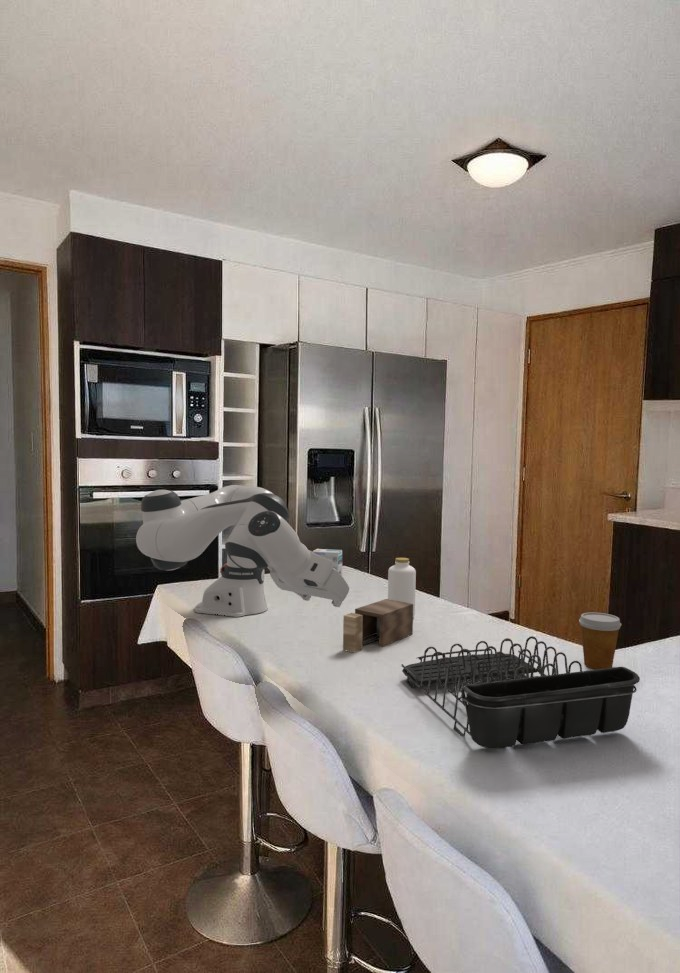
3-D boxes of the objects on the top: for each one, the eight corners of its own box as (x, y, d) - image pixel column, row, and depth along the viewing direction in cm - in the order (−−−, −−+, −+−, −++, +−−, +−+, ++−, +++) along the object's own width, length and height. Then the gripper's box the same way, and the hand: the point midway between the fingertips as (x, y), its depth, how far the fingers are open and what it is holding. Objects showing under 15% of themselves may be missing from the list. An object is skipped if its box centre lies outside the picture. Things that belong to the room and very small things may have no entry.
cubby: (382, 646, 174) (383, 614, 173) (354, 640, 179) (355, 608, 179) (412, 634, 186) (413, 603, 185) (385, 628, 191) (386, 598, 191)
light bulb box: (342, 576, 263) (343, 549, 262) (338, 580, 256) (338, 552, 256) (316, 575, 265) (316, 548, 265) (311, 578, 259) (312, 550, 258)
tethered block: (356, 653, 168) (356, 618, 168) (340, 649, 171) (341, 614, 171) (401, 634, 185) (402, 602, 184) (386, 631, 188) (387, 599, 188)
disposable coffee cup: (618, 662, 164) (620, 614, 164) (620, 674, 155) (622, 624, 155) (577, 657, 168) (578, 610, 167) (577, 669, 159) (579, 620, 158)
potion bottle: (414, 614, 207) (415, 556, 206) (415, 621, 199) (416, 561, 198) (387, 613, 208) (388, 555, 207) (387, 620, 200) (388, 560, 198)
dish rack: (477, 766, 111) (479, 695, 110) (386, 675, 154) (387, 624, 153) (647, 743, 120) (650, 678, 120) (517, 664, 163) (519, 615, 162)
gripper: (256, 571, 157) (284, 605, 165) (324, 584, 144) (350, 619, 153) (270, 550, 160) (296, 584, 168) (337, 561, 147) (362, 597, 156)
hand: (323, 601), depth 160 cm, fingers open, 8 cm apart
